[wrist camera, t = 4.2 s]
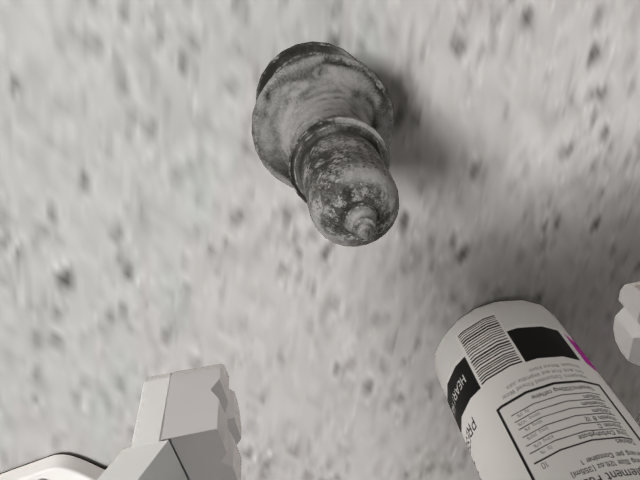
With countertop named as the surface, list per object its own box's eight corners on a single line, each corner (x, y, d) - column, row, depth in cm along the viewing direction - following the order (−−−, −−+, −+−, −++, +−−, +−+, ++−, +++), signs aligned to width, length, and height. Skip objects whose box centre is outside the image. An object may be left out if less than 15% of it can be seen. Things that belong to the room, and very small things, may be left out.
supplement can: (579, 319, 35) (771, 554, 23) (495, 401, 39) (623, 646, 26) (488, 273, 32) (652, 515, 20) (406, 366, 35) (501, 625, 23)
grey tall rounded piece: (336, 7, 23) (415, 90, 13) (396, 118, 26) (498, 255, 16) (223, 82, 24) (216, 213, 14) (293, 181, 27) (329, 347, 17)
